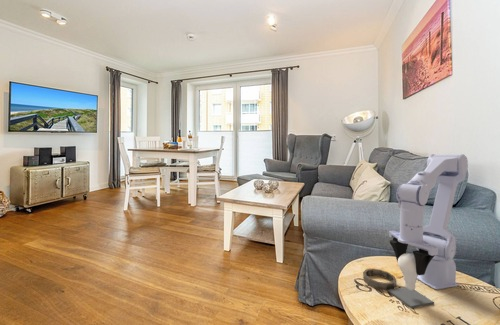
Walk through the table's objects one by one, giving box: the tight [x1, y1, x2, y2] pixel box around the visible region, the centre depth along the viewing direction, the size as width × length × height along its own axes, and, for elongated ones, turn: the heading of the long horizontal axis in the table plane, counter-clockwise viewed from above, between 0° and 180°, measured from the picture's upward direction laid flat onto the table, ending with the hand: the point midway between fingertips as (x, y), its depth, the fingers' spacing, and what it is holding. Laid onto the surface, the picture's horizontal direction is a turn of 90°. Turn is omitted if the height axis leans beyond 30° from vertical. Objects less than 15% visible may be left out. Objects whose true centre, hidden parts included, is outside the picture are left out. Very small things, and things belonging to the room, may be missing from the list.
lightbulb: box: [397, 252, 418, 290], centre depth 70 cm, size 6×6×11 cm
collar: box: [362, 268, 397, 291], centre depth 79 cm, size 10×10×2 cm
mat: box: [387, 286, 434, 309], centre depth 71 cm, size 8×8×1 cm
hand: (410, 268), depth 70 cm, fingers closed on lightbulb, 6 cm apart
